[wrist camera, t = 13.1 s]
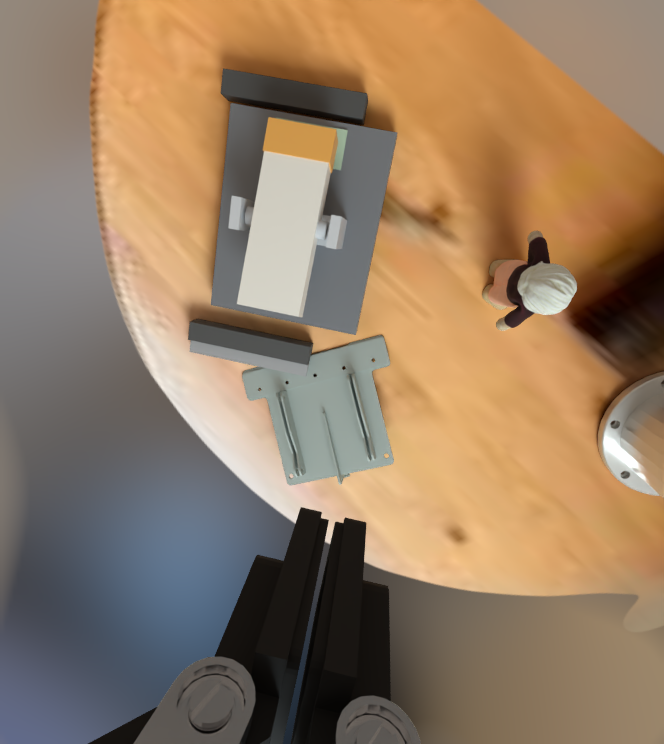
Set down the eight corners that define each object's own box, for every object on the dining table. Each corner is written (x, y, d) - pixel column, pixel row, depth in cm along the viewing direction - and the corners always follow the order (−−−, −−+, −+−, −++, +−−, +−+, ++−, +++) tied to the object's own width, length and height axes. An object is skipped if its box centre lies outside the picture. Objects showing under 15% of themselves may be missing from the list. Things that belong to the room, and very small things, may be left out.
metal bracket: (416, 472, 39) (265, 503, 42) (416, 459, 45) (283, 487, 47) (378, 321, 40) (232, 361, 42) (383, 327, 45) (253, 362, 48)
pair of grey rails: (368, 100, 36) (367, 93, 34) (317, 375, 43) (314, 380, 41) (219, 74, 36) (211, 66, 35) (194, 348, 44) (187, 353, 42)
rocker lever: (345, 143, 34) (344, 130, 32) (310, 319, 35) (307, 318, 33) (267, 129, 34) (260, 115, 32) (236, 303, 36) (227, 302, 33)
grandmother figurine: (519, 320, 39) (578, 353, 27) (476, 318, 40) (516, 350, 28) (532, 233, 37) (603, 227, 25) (486, 232, 38) (535, 225, 26)
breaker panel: (396, 138, 36) (399, 114, 30) (356, 330, 41) (351, 347, 35) (238, 110, 37) (206, 80, 30) (218, 302, 42) (187, 312, 36)
